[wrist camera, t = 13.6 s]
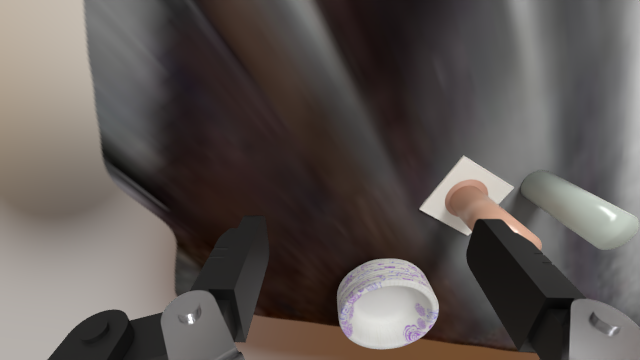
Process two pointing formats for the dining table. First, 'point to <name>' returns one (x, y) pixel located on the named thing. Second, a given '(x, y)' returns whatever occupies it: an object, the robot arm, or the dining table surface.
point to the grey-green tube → (580, 210)
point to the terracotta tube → (485, 211)
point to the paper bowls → (386, 304)
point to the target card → (455, 179)
